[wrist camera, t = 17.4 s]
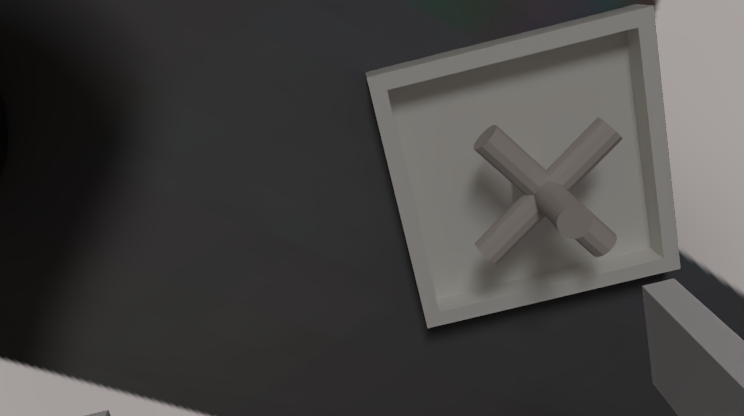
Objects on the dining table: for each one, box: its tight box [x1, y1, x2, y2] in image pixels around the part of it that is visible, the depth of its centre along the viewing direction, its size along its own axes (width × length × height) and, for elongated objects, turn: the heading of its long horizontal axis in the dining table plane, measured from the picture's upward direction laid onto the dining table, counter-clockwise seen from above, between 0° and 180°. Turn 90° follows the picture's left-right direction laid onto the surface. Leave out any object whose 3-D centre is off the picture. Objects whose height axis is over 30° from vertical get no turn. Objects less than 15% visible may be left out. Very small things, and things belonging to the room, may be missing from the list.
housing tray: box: [365, 4, 680, 328], centre depth 43 cm, size 17×17×2 cm
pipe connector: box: [474, 117, 622, 265], centre depth 39 cm, size 10×10×10 cm
